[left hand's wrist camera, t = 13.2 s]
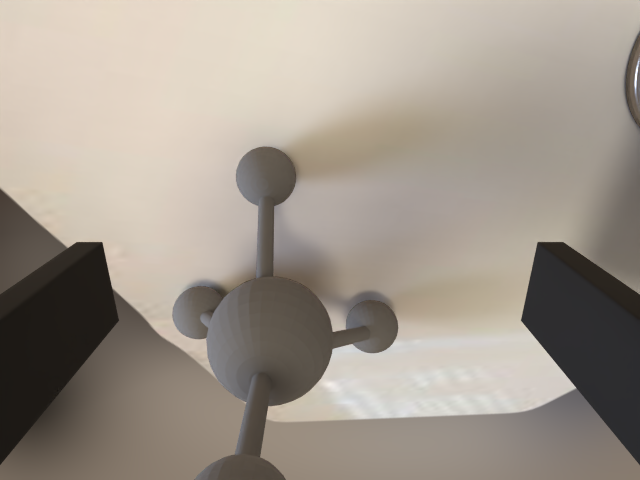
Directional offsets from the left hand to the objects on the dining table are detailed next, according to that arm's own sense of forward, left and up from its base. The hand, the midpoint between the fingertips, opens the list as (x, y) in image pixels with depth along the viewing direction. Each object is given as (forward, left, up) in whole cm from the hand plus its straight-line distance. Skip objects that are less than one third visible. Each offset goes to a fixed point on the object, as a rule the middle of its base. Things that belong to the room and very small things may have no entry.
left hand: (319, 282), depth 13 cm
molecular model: (-5, +10, -29) cm, 31 cm away
